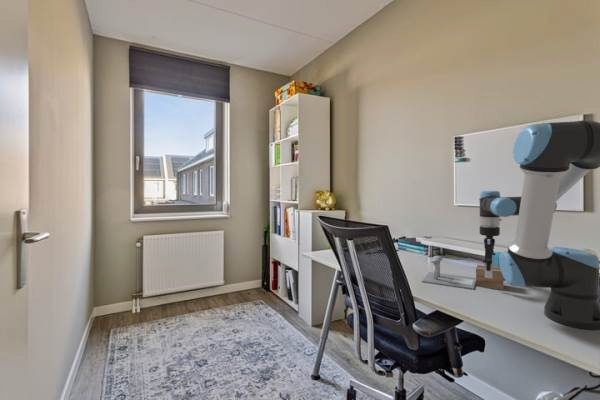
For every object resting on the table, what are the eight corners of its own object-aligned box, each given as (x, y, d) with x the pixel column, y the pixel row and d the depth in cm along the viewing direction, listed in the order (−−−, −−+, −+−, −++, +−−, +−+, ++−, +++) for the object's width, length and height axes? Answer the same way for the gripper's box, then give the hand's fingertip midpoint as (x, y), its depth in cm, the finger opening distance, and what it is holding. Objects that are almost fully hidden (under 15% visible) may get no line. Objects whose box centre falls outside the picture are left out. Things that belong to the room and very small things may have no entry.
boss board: (473, 289, 129) (473, 266, 128) (422, 282, 141) (421, 261, 140) (476, 279, 142) (476, 258, 142) (429, 273, 154) (429, 253, 154)
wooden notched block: (503, 290, 128) (503, 271, 127) (476, 286, 133) (476, 268, 133) (503, 285, 133) (503, 267, 133) (477, 281, 139) (477, 264, 139)
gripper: (499, 231, 120) (498, 283, 121) (500, 222, 140) (500, 266, 141) (477, 230, 124) (477, 280, 125) (481, 221, 144) (481, 264, 146)
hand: (489, 273), depth 133 cm, fingers open, 13 cm apart
